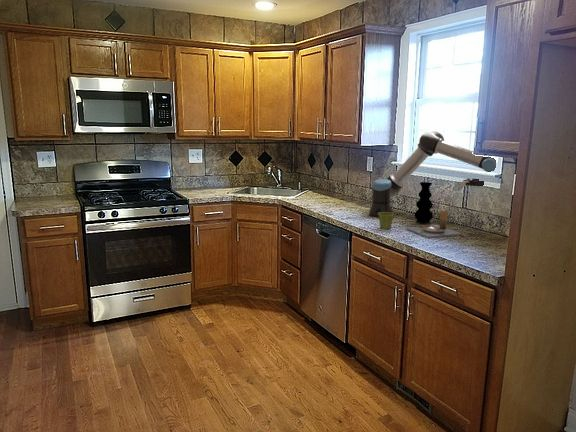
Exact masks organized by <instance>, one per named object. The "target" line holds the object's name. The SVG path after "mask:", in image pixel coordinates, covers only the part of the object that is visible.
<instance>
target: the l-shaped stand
mask: <svg viewBox="0 0 576 432" xmlns="http://www.w3.org/2000/svg"><path fill="white" fill-rule="evenodd" d="M439 214H440V215H439V224H431V223H426V224H423V225H422V226H418V227H419V228H422V230H423V231H426V232H431V233H442V232H444V231H445V229H446V228H447V226H448V224H447V222H448V210H444V209H442V210H441V209H440V213H439Z"/></svg>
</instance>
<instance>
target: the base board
mask: <svg viewBox="0 0 576 432" xmlns="http://www.w3.org/2000/svg"><path fill="white" fill-rule="evenodd" d="M419 227H420V226H415V227H407V228H406V231H408V232H411V233H413V234H415V235H419V236H421V237H423V238H427V239H436V238H447V237H455V236H456V237H457V236H462V232H458V231H456V230H453V229H449V228H447V227H446V229H445V231H444V232H442V233H431V232H426V231H423V230H422V228H419Z"/></svg>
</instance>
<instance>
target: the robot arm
mask: <svg viewBox="0 0 576 432" xmlns="http://www.w3.org/2000/svg"><path fill="white" fill-rule="evenodd" d="M418 140H419V141H418V142H419V143H418V144H417V148H416V149H415V151H413V152H412V154H410V156H409V157H408V158H407V159H406V160H405V162H404V163H403V164H402V165H400V167H399V168H398V169H397V170H396V171H395V172H394V173H393V174H392V173H391V174H390V175H389V176H388V177H387V178H386V179H385V178H379V179H376V180H374V181H373V183H372V200H371V201H372V202H371V206H370V209H369V211H368V215H369V216H370V217H375V218H379V214H378V213H380V212H389V213H393V210H392V207H391V198H392V197H395V196H397V195H398V194H399V193H400V192H401V189H402V188H403V187H404V183H405V182H406V181H407V179H409V177H410V176H412V174H413V173H414V172H415V171H416V170H417V169H418V168H419V167H420V166H421V165H422V163H423V162H425V160H426V159H427V158H428V157H432V156H434V154H435V155H436V154H440V155H443V156H445V157H449V158H452V159H454V160H456V161H459V162H463V163H466V164H468V165H471V166H473V167H476V168H479V169H482V170H483V171H484V172H486V173H487V172H491V171H494V170H495V168H496V160H495V159H494V158H491V157H489V156H488V157H483V156H475V155H473V154H472V152H474V151H473V150H470V149H467V148H464V147H462V146H459V145H456V144H453V143H450V142H447V141H445V138H444V136H443V134H442V133H441V132H438V131H427V132H424V133H423V134H422V135H421V136H420V137H419V139H418ZM483 185H484V181H479V179H475V178H472V179H471V178H466V179H463V180H462V181H460V183H459V187H462V188H464V187H469V186H470V187H471V186H472V187H478V186H483Z"/></svg>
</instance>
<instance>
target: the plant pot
mask: <svg viewBox="0 0 576 432" xmlns="http://www.w3.org/2000/svg"><path fill="white" fill-rule="evenodd" d="M378 214H379V217H378V219H379V228H380V229H382V230H390V229H392V224H393V219H394V216H395V213H393V212H392V213H389V212H380V213H378Z"/></svg>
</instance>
